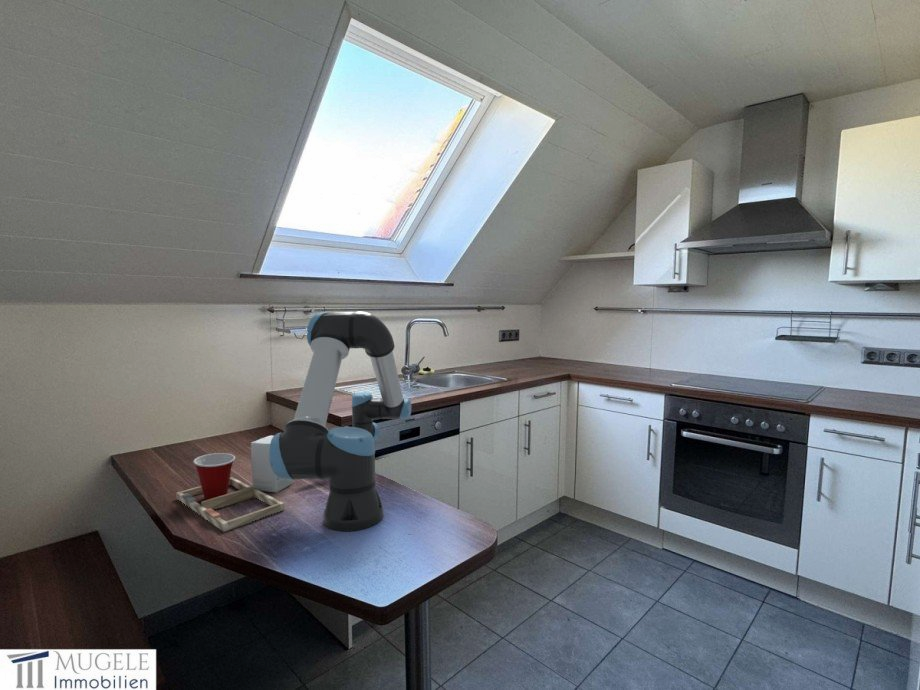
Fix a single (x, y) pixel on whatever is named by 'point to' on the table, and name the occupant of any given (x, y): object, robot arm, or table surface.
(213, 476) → the plastic cup
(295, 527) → the table surface
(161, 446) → the table surface
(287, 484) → the supplement box
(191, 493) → the wooden frame
